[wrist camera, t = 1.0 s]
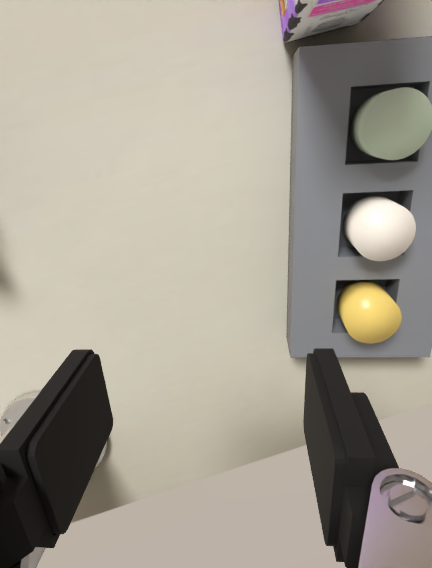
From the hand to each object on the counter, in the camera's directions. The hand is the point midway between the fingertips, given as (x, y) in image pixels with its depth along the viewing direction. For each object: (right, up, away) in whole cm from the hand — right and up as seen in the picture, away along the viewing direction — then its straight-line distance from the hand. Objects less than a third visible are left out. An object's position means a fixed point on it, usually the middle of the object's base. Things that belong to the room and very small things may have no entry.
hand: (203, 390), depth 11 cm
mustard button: (+13, +2, +20) cm, 24 cm away
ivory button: (+13, +8, +17) cm, 23 cm away
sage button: (+12, +15, +15) cm, 24 cm away
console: (+13, +9, +20) cm, 25 cm away
